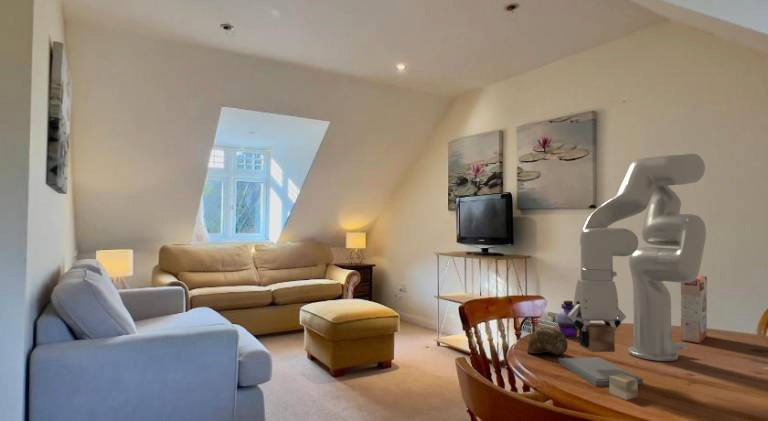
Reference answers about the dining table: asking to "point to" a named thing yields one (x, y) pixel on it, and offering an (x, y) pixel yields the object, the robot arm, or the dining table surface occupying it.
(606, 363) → the plate
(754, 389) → the dining table surface
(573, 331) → the potion bottle
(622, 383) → the beech block
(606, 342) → the walnut cube
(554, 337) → the grey-brown rock
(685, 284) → the cracker box
